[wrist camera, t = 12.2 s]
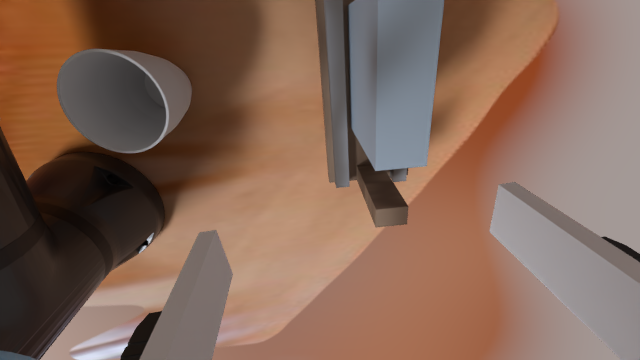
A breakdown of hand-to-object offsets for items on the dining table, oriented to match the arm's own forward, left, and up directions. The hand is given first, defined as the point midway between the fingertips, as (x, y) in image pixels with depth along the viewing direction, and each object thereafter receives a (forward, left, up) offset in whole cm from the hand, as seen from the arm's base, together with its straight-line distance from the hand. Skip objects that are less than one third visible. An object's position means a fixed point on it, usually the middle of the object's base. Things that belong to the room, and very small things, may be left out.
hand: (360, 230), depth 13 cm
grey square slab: (+5, +5, -21) cm, 22 cm away
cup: (-17, +5, -23) cm, 29 cm away
